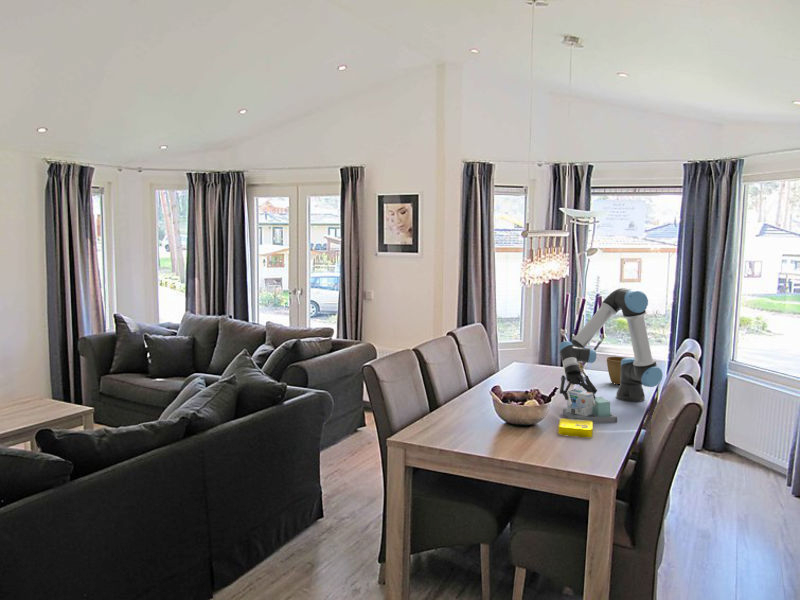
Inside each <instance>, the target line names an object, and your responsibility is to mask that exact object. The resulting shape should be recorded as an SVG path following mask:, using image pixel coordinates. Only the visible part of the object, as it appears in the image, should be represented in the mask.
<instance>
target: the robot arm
mask: <svg viewBox="0 0 800 600" xmlns="http://www.w3.org/2000/svg"><path fill="white" fill-rule="evenodd" d="M648 305H649V299H648V296H647V295H646V293H644V292H643V291H641V290H638V289H633V288H623V287H621V288H617V289H615V290H614V291H612V292H611V293H609V294H608V295H607V296H606V298H605V299H603V301H602V302H601V305H600V307H599V308H598V310H597V311H596V312H595V313H594V315H593V316H592V317H591V318H590V319H589V320H588V321H587V322H586V323H585V324H584V326H583V327H582V328H581V330H580V331H579V332H578V333H576V335H575V336H574V337H573V339H571V341H569V340H564V341H562V342H560V343H559V345H558V350H559V352H558V353H559V355H560V358H561V361H562V365H563V366H562V367H563V369H564V373H565V375H563V374H562V375H561V377H560V381H561V382H560V388H559V394H560V395H561V394H562V396H563V397H564V400H565V401H567V402H568V405H569V407H570V406H571V405H572V402H571V398H570V395H569V392H568V391H569V389H570V387H571V385H574V386H575V385H576V386H578V385H579V386H580V387H582V388H583V390H584V391H586V392H591V393H593V407H594V406H595V404H596V403H595V397H596V393H597V392H598V389H597V388H596V387H595V385H594V384H593V382H592V381H591V380H590V378H589V375H584V376H583V375H582V371H581V369H580V364H579V362H581V363H585V364H593V363H594V362H595V361H596V359H597V352H596V350H595V349H593V348H590V347H589V348H588V347H587V348H586V346H587V345H588V344H589V343H590V342H591V341H592V340H593V338H594V337H595V336H596V335H597V334H598V333H599V332H600V330H601V329H603V326H604V325H605V324H606V323H607V322H608V321H609V319H611V317H612V316H614V315H616V314H617V313H619V311H621V312H622V317H623V318H625V319H626V321H627V326H628V331H629V335H630V336H629V338H630V340H631V341H630V342H631V346H632V350H633V356H634V358H632V357H631V358H630V357H624V358H625V359H622V360H621V375H620V385H618V389H617V391H616V395H615V397H616V399H618V400H621V401H625V400H626V402H642V401H643V402H644V401H645V400H646V395H645V392H644V388H643V386H644V387H649V388H654V387H656V386H658V385H660V383H661V382H662V380H663V371H662V369H661V368H660V367H658V366H657V361H656V359H655V358H653V357H652V351H651V347H650V343H649V342H650V341H649V337H648V332H647V325H646V322H645V314H646V313H647V307H648ZM566 380H567V382H568V384H567V385H566V387H565V382H566ZM567 402H566V403H567Z"/></svg>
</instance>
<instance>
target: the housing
mask: <svg viewBox="0 0 800 600" xmlns="http://www.w3.org/2000/svg"><path fill="white" fill-rule="evenodd" d="M562 414H563V415H564V416H565V417H566V418H567V419H575V420H586V421H592V422H593V424H595V423H596V424H597V423H618V416H616V415H615V414H613V413H612V412H610V417H598V416H597V415H595V414H594V413H592V414H591V415H588V416H582V415H578V414H574V413H570V412H567V408H563V410H562Z"/></svg>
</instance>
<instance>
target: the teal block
mask: <svg viewBox="0 0 800 600" xmlns="http://www.w3.org/2000/svg"><path fill="white" fill-rule="evenodd" d="M595 403H596V404H595V406H594V407H593V412H592V413H594V414H595V415H597V416H598V417H610V413H611V401H609V400H608V399H607V398H604V396H603V397H602V396H595Z"/></svg>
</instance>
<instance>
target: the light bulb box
mask: <svg viewBox="0 0 800 600" xmlns="http://www.w3.org/2000/svg"><path fill="white" fill-rule="evenodd" d="M567 392H569V395H570V398H571V402H572V405H571V406H570V407H569V405H568V402H566V403H567V404H566V405H567V406H566V409H567V412H570V413H574V414H578V415H582V416H588V415H591V414H592V412H593V393H591V392H587V391H586V390H580V389H576V388H575V389H572V390H568V391H567Z"/></svg>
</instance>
